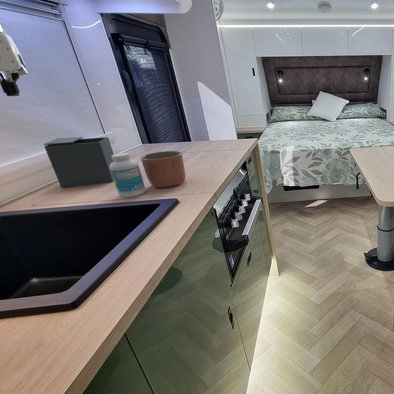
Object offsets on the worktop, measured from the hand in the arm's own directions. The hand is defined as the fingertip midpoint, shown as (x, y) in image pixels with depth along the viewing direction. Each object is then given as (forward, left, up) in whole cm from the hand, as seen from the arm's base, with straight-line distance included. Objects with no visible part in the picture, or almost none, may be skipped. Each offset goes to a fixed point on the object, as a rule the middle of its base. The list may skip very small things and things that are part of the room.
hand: (13, 95), depth 91 cm
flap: (+6, +5, -16) cm, 18 cm away
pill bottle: (+27, -19, -31) cm, 45 cm away
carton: (+10, +5, -31) cm, 33 cm away
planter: (+37, -13, -31) cm, 50 cm away
